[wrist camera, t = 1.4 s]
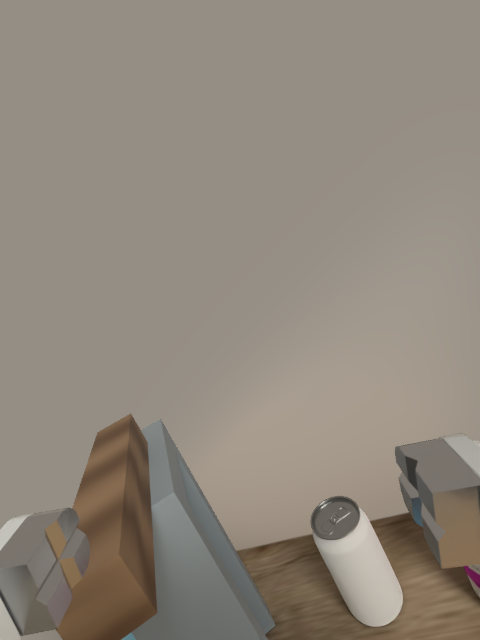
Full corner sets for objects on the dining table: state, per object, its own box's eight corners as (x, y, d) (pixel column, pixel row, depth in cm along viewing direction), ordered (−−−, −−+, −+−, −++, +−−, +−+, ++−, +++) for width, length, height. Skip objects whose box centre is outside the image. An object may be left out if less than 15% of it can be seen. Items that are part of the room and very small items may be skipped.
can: (336, 598, 41) (296, 520, 39) (372, 560, 43) (336, 484, 41) (377, 644, 35) (332, 555, 33) (417, 597, 37) (376, 511, 35)
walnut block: (157, 613, 15) (119, 554, 15) (83, 667, 15) (39, 607, 14) (147, 442, 35) (130, 413, 34) (115, 461, 34) (97, 432, 33)
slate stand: (266, 604, 44) (160, 418, 39) (334, 764, 29) (173, 491, 24) (220, 641, 43) (103, 452, 38) (265, 831, 27) (78, 554, 22)
